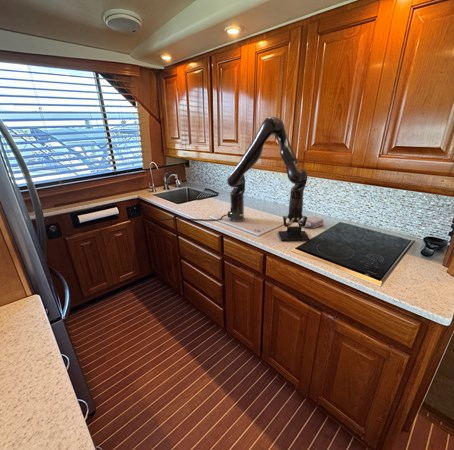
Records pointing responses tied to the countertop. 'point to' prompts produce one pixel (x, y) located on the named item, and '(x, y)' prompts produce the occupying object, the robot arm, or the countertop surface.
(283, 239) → the base pad
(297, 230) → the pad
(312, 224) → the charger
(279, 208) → the countertop surface
